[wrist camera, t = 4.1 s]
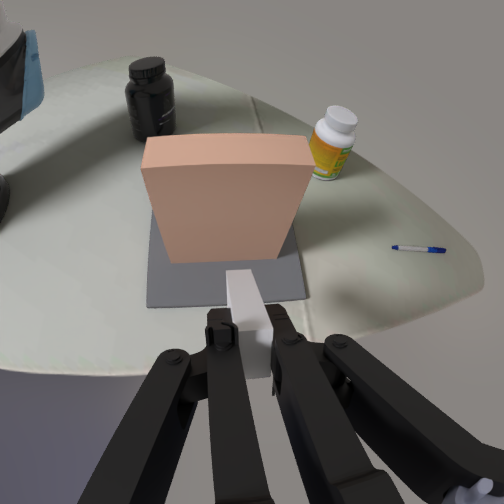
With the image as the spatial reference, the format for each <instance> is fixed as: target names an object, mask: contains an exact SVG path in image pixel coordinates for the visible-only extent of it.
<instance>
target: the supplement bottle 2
mask: <svg viewBox="0 0 504 504" xmlns="http://www.w3.org/2000/svg"><path fill="white" fill-rule="evenodd" d="M357 123H358V119H357V117H356V115H355V114H354V113H353V112H352V111H350V110H349V109H347V108H344V107H341V106H337V105H332V106H329V107H328V109H327V111H326V113H325V117H324V118H322V119H320V120H319V121H318V122H317V123H316V126H315V128H314V131H313V134H312V137H311V140H310V143H309V147H310V150H311V153H312V156H313V159H314V161H315V164H316V167H315V169H314V172H313V174H312V176H314V177H316V178H318V179H321V180H332V179H334V178H336V177H337V176H338V174H339V173H340V171H341V169H342V167H343V165H344V163H345V161H346V159H347V157H348V155H349V153H350V151H351V149H352V147H353V145H354V142H355V139H356V135H355V132H354V129H355V127H356V125H357Z"/></svg>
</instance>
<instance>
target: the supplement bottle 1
mask: <svg viewBox="0 0 504 504" xmlns="http://www.w3.org/2000/svg"><path fill="white" fill-rule="evenodd" d="M165 72H166V68H165V61H164V59H163V58H161V57H146V58H142V59H139V60H137V61H134V62H133V63H131V64H130V65H129V78H130V81H129V83H128V84H127V86H126V88H125V96H126V101H127V106H128V111H129V116H130V121H131V126H132V130H133V134H134V136H135V138H136V139H138V140H139V141H142V142H147V137H158V136H170V135H171V134H172V133H173V132H174V130H175V128H176V114H175V100H174V84H173V80H172V78H171V77H170V76H169V75H168V74H166V73H165Z"/></svg>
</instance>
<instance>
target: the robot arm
mask: <svg viewBox="0 0 504 504" xmlns="http://www.w3.org/2000/svg"><path fill="white" fill-rule="evenodd" d="M43 98H44V85H43V80H42V73H41V66H40V61H39V54H38V46H37V39H36V32H35V30H30V31H26V32H25V33H24V32H23V28H22V25H21V23H19V22H13V21H8V20H7V16H6V12H5V8H4V3H3V0H0V134H1V133H2V132H3V131H5V130H6V129H7V128H9V127H10V126H12V125H13V124H15V123H16V122H17V121H21V120H22V119H23V118H24V116H26V115H27V114H28V113H30V112H31V111H33V110H34V109H36V108H37V107H38V106H39V105H40V104H41V102H42V101H43ZM8 200H9V185H8V183H7V182H6V180H5V179H4V178H3V176H2V175H1V174H0V222H1V220H2V218H3V215H4V213H5V210H6V207H7V204H8ZM226 283H227V308H216V309H211V310H210V311H209V312H208V314H207V326H206V329H205V336H206V345H207V346H206V347H205V348H204V349H203V350H202V351H200V352H198V353H195V354H192V355H189V354H188V353H187V352H186V351H184V350H181V349H169V350H166V351H164V352H162V353H161V354H160V355H159V356H158V358H157V359H156V361H155V363H154V365H153V366H152V368H151V370H150V371H149V373H148V375H147V377H146V379H145V380H144V382H143V383H142V385H141V387H140V389H139V391H138V393H137V394H136V396H135V398H134V399H133V401H132V403H131V404H130V406H129V408H128V410H127V412H126V413H125V415H124V417H123V419H122V421H121V422H120V424H119V426H118V428H117V430H116V431H115V433H114V435H113V437H112V439H111V440H110V442H109V444H108V446H107V448H106V450H105V451H104V453H103V455H102V457H101V459H100V461H99V463H98V465H97V466H96V468H95V471H94V472H93V474H92V476H91V478H90V480H89V482H88V484H87V485H86V488H85V489H84V491H83V493H82V495H81V497H80V499H79V501H78V503H77V504H165V500H166V497H167V494H168V491H169V488H170V485H171V482H172V479H173V476H174V473H175V470H176V467H177V464H178V461H179V458H180V455H181V452H182V449H183V446H184V443H185V440H186V437H187V434H188V431H189V428H190V425H191V422H192V419H193V416H194V413H195V410H196V407H197V404H198V401H199V400H203V399H206V398H208V406H209V426H210V442H211V456H212V469H213V481H214V491H215V504H275V503H274V501H273V499H272V498H271V496H270V492H269V489H268V484H267V480H266V476H265V471H264V467H263V462H262V458H261V453H260V449H259V444H258V439H257V435H256V430H255V425H254V420H253V416H252V411H251V406H250V401H249V396H248V391H247V385H246V381H245V379H255V378H265V377H270V376H271V370H272V373H273V387H272V396H274V395H275V393H276V397H277V400H278V403H279V406H280V410H281V414H282V417H283V420H284V423H285V427H286V430H287V433H288V436H289V440H290V443H291V446H292V450H293V453H294V456H295V459H296V462H297V466H298V469H299V472H300V475H301V478H302V481H303V485H304V488H305V491H306V494H307V497H308V500H309V503H310V504H404V501H403V499H402V498H401V496H400V494H399V492H398V490H397V488H396V486H395V485H394V483H393V481H392V479H391V477H390V476H389V475H388V473H387V472H385V471H384V470H379V469H376V468H374V467H373V465H372V463H371V461H370V459H369V457H368V456H367V454H366V452H365V450H364V448H363V446H362V444H361V442H360V440H359V438H358V436H357V435H356V433H357V434H358V435H359V436H360V437H361V438H362V439H363V440H364V442H365V443H366V444H367V445H368V446H369V447H370V448H371V449H372V450H373V451H374V452H375V453H376V454H377V455H378V456H379V458H381V460H382V461H383V462H384V463H385V464H386V465H387V466H388V467H389V468H390V469H391V470H392V471H393V472H394V473H395V474H396V475H397V476H398V477H399V478H400V479H401V480H402V481H403V482H404V483H405V484H406V485H407V486H408V487H409V488H410V489H411V490H412V491H413V492H414V493H415V494H416V495H417V496H418V497H419V498H421V499H422V500H423V501H425V502H426V503H428V504H504V450H501V449H498V448H495V447H492V446H489V445H486V444H483V443H481V442H480V441H479V440H477V439H476V438H475V437H473V436H472V435H471V434H470V433H469V432H467V431H466V430H465V429H464V428H462V427H461V426H460V425H459V424H457V423H456V422H455V421H454V420H452V419H451V418H450V417H449V416H447V415H446V414H445V413H444V412H442V411H441V410H440V409H439V408H437V407H436V406H435V405H434V404H432V403H431V402H430V401H429V400H427V399H426V398H425V397H424V396H422V395H421V394H420V393H419V392H417V391H416V390H415V389H414V388H412V387H411V386H410V385H409V384H407V383H406V382H405V381H404V380H402V379H401V378H400V377H399V376H398V375H396V374H395V373H394V372H392V371H391V370H390V369H389V368H388V367H386V366H385V365H384V364H382V363H381V362H380V361H379V360H378V359H376V358H375V357H374V356H373V355H371V354H370V353H369V352H368V351H366V350H365V349H364V348H363V347H362V346H360V345H359V344H358V343H357V342H356V341H354V340H353V339H352V338H350V337H348V336H346V335H343V334H334V335H330V336H328V337H327V338H326V339H325V342H324V343H315V342H309V341H307V339H306V338H305V336H304V335H303V334H301V333H299V332H296V330H295V328H294V326H293V324H292V322H291V320H290V318H289V316H288V315H287V312H286V310H285V308H284V307H282V306H281V305H280V304H269V305H264V303H263V300H262V298H261V295H260V293H259V290H258V287H257V285H256V282H255V279H254V277H253V274H252V272H251V269H245V270H226ZM347 377H348V378H349V379H350V380H351V381H350V380H349V379H347Z"/></svg>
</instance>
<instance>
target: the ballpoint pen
mask: <svg viewBox="0 0 504 504" xmlns="http://www.w3.org/2000/svg"><path fill="white" fill-rule="evenodd" d="M392 249H395V250H405V251H422V252H432V253H445V252H446V249H445V248H437V247H415V246H400V245H396V246H392Z"/></svg>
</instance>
